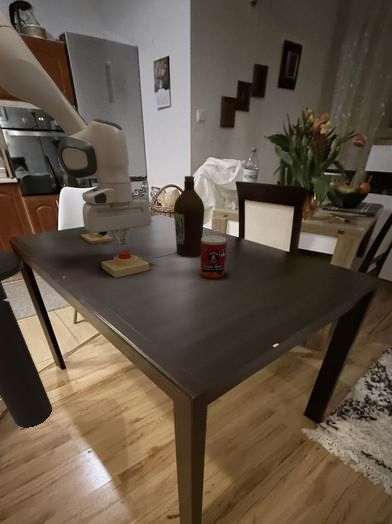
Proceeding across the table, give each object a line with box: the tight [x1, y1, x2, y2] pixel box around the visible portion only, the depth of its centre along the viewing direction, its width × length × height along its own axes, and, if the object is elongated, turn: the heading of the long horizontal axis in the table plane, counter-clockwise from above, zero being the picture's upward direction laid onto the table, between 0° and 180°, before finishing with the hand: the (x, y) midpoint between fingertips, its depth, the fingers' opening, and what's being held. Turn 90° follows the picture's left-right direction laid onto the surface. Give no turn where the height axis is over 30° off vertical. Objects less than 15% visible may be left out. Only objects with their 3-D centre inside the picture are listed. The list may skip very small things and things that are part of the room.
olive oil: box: [173, 175, 205, 258], centre depth 100 cm, size 11×11×25 cm
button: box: [117, 250, 131, 259], centre depth 89 cm, size 4×4×2 cm
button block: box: [101, 253, 151, 279], centre depth 91 cm, size 12×10×4 cm
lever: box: [99, 231, 108, 236], centre depth 113 cm, size 13×3×3 cm
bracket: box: [80, 231, 113, 245], centre depth 117 cm, size 12×9×12 cm
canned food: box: [199, 235, 228, 280], centre depth 86 cm, size 8×8×11 cm
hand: (122, 244), depth 87 cm, fingers closed
